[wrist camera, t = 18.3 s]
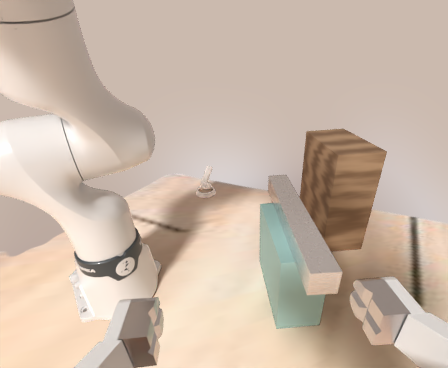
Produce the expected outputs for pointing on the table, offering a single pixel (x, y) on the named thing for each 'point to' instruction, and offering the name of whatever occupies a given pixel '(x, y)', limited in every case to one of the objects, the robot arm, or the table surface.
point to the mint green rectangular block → (284, 276)
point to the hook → (206, 185)
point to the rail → (304, 240)
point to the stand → (340, 185)
